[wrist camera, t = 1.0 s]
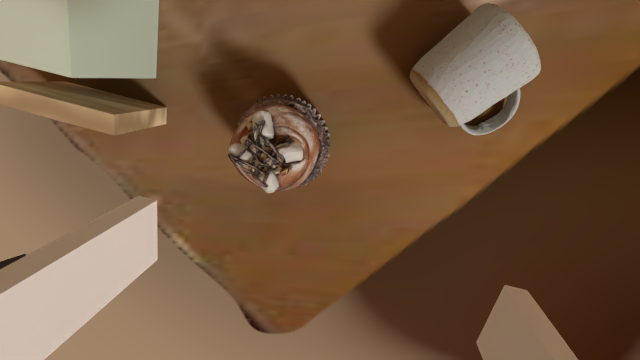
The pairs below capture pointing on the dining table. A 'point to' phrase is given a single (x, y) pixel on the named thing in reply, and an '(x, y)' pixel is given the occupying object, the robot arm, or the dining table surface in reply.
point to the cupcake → (280, 143)
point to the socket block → (81, 36)
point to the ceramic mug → (477, 69)
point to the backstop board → (82, 106)
